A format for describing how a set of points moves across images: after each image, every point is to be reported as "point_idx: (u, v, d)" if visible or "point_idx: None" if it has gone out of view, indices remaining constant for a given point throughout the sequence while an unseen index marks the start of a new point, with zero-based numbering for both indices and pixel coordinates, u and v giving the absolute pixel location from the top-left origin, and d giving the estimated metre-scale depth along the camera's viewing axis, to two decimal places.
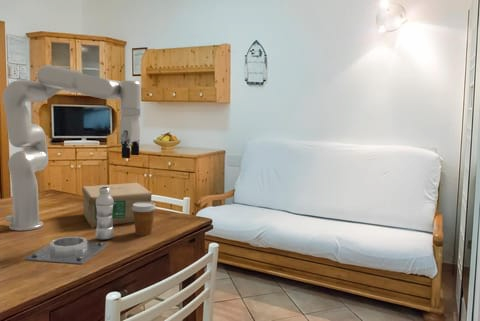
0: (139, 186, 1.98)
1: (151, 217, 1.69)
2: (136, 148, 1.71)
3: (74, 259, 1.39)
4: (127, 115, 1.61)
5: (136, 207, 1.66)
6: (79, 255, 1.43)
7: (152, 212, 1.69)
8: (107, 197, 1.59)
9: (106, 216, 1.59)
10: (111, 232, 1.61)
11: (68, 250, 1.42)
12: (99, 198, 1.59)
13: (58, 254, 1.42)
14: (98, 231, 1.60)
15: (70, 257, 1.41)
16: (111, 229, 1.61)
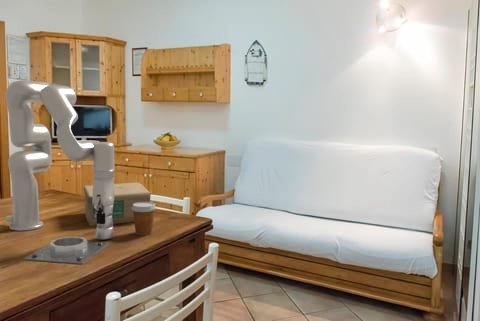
0: (139, 186, 1.98)
1: (151, 217, 1.69)
2: None
3: (74, 259, 1.39)
4: (100, 178, 1.56)
5: (136, 207, 1.66)
6: (79, 255, 1.43)
7: (152, 212, 1.69)
8: None
9: (106, 216, 1.59)
10: (111, 232, 1.61)
11: (68, 250, 1.42)
12: None
13: (58, 254, 1.42)
14: (98, 231, 1.60)
15: (70, 257, 1.41)
16: (111, 229, 1.61)
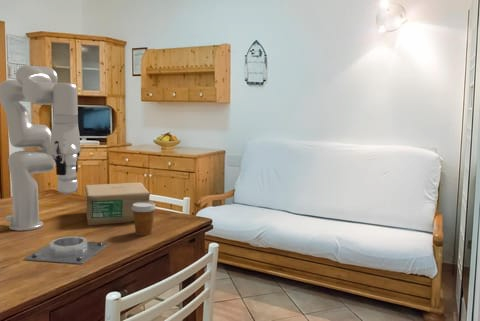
0: (140, 186, 1.99)
1: (151, 217, 1.69)
2: None
3: (74, 259, 1.39)
4: (59, 123, 1.38)
5: (136, 207, 1.66)
6: (79, 255, 1.43)
7: (152, 212, 1.69)
8: None
9: (67, 167, 1.42)
10: (73, 185, 1.43)
11: (68, 250, 1.42)
12: None
13: (58, 254, 1.42)
14: (59, 183, 1.42)
15: (70, 257, 1.41)
16: (74, 182, 1.43)
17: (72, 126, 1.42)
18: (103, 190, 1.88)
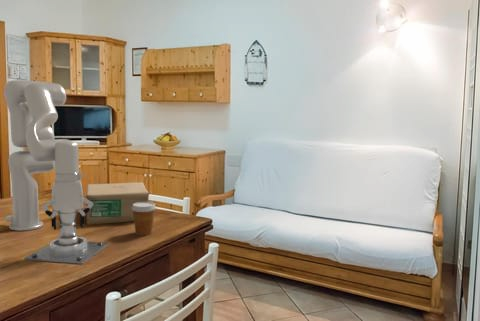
0: (140, 186, 1.99)
1: (151, 217, 1.69)
2: (80, 219, 1.47)
3: (74, 259, 1.39)
4: (55, 180, 1.43)
5: (136, 207, 1.66)
6: (79, 255, 1.43)
7: (152, 212, 1.69)
8: None
9: (61, 225, 1.44)
10: (65, 244, 1.44)
11: (68, 250, 1.42)
12: None
13: (58, 254, 1.42)
14: None
15: (70, 257, 1.41)
16: (66, 241, 1.44)
17: (67, 184, 1.42)
18: (103, 189, 1.89)
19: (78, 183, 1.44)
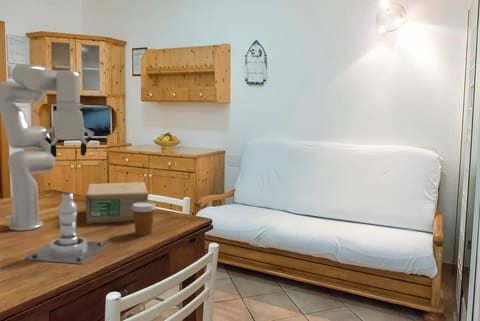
0: (141, 186, 1.99)
1: (151, 217, 1.69)
2: (82, 147, 1.51)
3: (74, 259, 1.39)
4: (57, 109, 1.45)
5: (136, 207, 1.66)
6: (79, 255, 1.43)
7: (152, 212, 1.69)
8: (63, 204, 1.43)
9: (61, 225, 1.44)
10: (65, 244, 1.44)
11: (68, 250, 1.42)
12: None
13: (58, 254, 1.42)
14: None
15: (70, 257, 1.41)
16: (66, 241, 1.44)
17: (69, 113, 1.45)
18: (103, 189, 1.90)
19: (80, 112, 1.48)
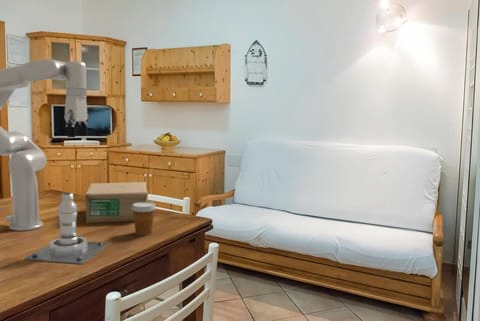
0: (141, 185, 2.00)
1: (151, 217, 1.69)
2: (84, 128, 1.75)
3: (74, 259, 1.39)
4: (72, 95, 1.65)
5: (136, 207, 1.66)
6: (79, 255, 1.43)
7: (152, 212, 1.69)
8: (63, 204, 1.43)
9: (61, 225, 1.44)
10: (65, 244, 1.44)
11: (68, 250, 1.42)
12: None
13: (58, 254, 1.42)
14: None
15: (70, 257, 1.41)
16: (66, 241, 1.44)
17: (82, 98, 1.68)
18: (103, 189, 1.91)
19: (85, 98, 1.72)
